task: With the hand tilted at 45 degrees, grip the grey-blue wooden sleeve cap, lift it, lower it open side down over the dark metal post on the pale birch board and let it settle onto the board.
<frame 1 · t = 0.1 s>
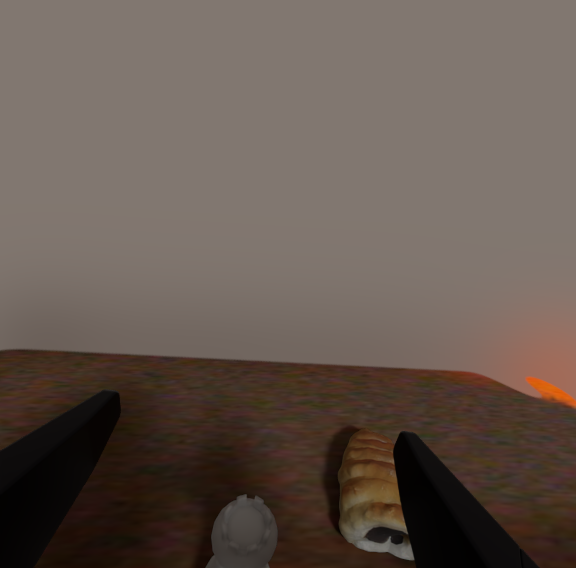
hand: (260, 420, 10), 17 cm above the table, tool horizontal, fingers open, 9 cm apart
pastry: (371, 501, 25), on the table
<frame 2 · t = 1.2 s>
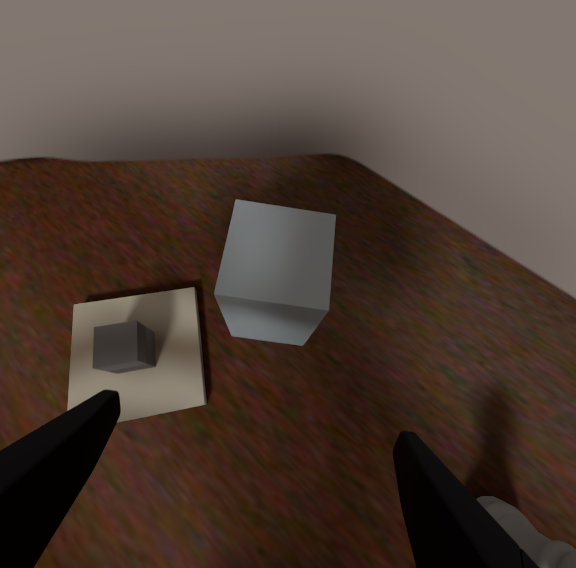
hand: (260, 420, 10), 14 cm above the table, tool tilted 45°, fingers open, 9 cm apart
post board: (141, 354, 23), on the table
rook chess piece: (487, 530, 21), on the table
sleeve cap: (272, 307, 25), on the table
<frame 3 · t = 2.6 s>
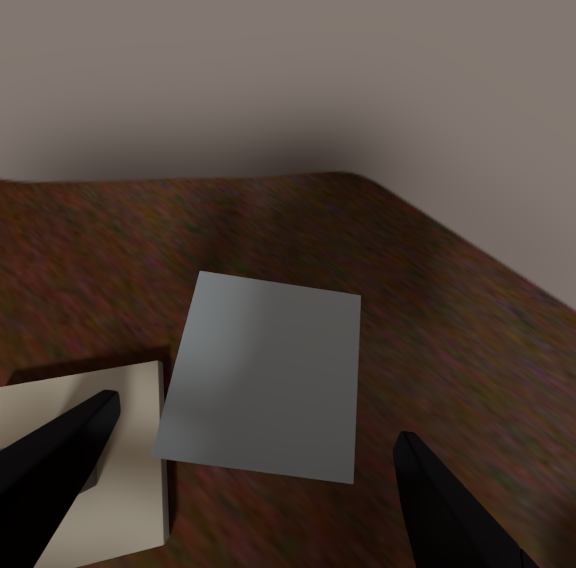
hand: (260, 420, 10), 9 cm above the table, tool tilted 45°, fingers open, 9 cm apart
post board: (81, 459, 17), on the table
sleeve cap: (264, 384, 19), on the table
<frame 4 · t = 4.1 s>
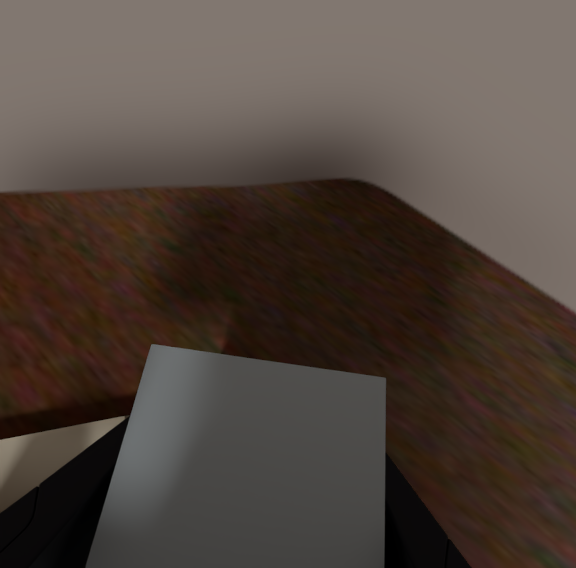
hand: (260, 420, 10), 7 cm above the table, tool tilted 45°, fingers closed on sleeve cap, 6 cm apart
post board: (27, 543, 13), on the table
sleeve cap: (256, 440, 16), on the table, touching gripper
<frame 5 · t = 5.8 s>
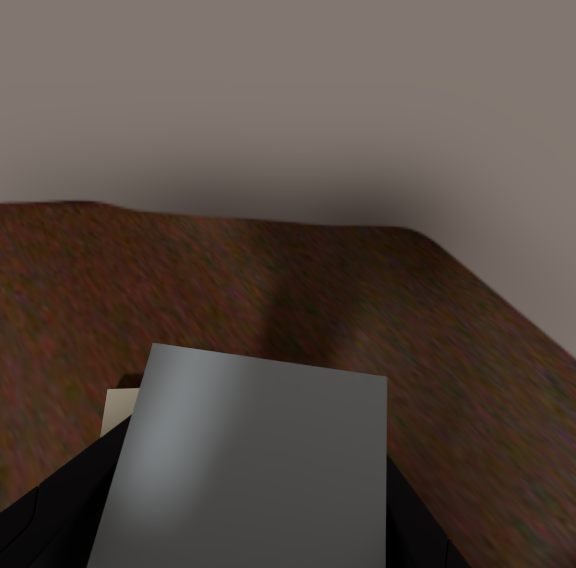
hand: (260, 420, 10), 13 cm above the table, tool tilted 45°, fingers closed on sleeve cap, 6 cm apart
post board: (173, 456, 20), on the table
sleeve cap: (256, 440, 16), point 6 cm above the table, touching gripper
when the fingers open (9 cm above the table, at t = 7.8 s): sleeve cap stays where it is, resting on post board.
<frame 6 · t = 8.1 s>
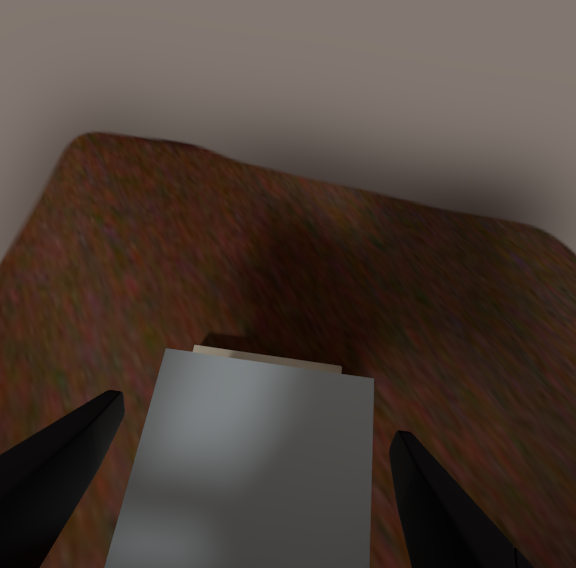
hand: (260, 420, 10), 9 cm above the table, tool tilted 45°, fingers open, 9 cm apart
post board: (256, 436, 17), on the table
sleeve cap: (257, 437, 17), point 1 cm above the table, touching post board
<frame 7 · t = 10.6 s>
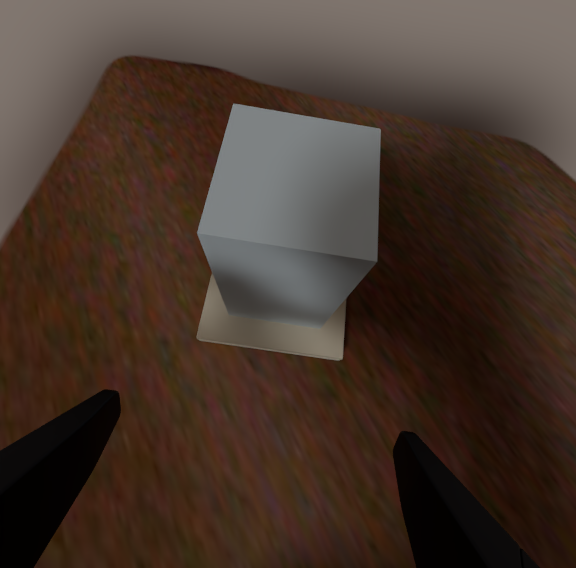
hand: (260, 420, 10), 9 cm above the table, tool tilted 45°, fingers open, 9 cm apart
post board: (279, 285, 21), on the table
sleeve cap: (281, 279, 20), point 1 cm above the table, touching post board
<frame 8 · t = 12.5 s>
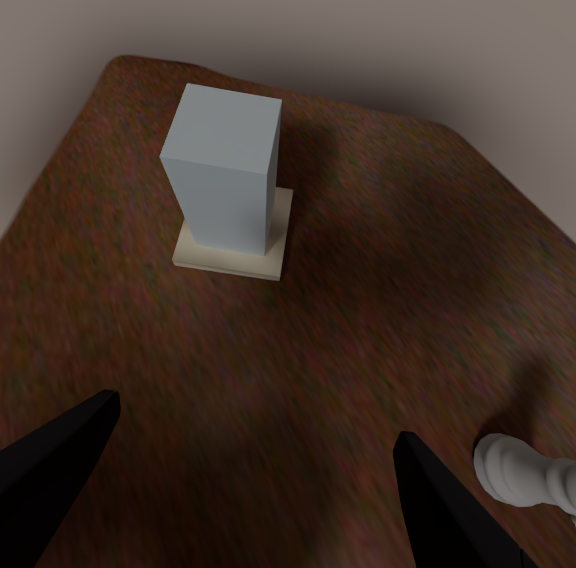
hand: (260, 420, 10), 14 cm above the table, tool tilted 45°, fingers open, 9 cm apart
post board: (237, 228, 27), on the table
rook chess piece: (496, 465, 22), on the table
sleeve cap: (237, 222, 26), point 1 cm above the table, touching post board
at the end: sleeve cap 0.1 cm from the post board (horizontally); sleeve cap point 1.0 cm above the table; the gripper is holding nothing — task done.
